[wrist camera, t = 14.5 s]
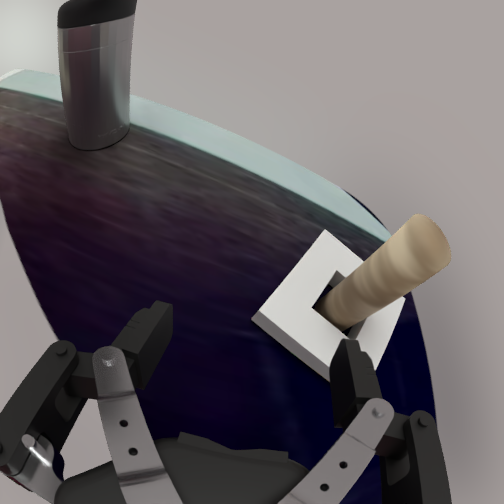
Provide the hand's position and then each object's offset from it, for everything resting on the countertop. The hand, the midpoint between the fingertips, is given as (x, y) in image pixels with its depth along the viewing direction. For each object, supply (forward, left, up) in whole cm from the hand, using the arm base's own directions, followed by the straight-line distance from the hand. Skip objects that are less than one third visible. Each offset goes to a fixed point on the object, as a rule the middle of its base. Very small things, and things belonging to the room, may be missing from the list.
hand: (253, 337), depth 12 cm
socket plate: (+5, +11, -11) cm, 16 cm away
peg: (+5, +11, -11) cm, 17 cm away
